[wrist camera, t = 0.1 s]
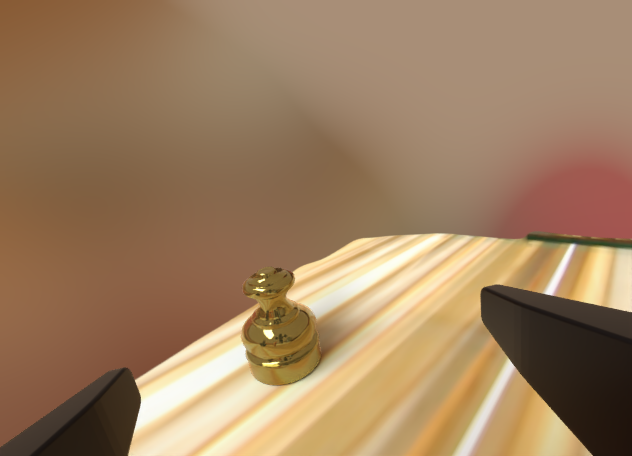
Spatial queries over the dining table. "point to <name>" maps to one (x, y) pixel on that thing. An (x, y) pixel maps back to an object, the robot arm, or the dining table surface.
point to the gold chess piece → (278, 330)
